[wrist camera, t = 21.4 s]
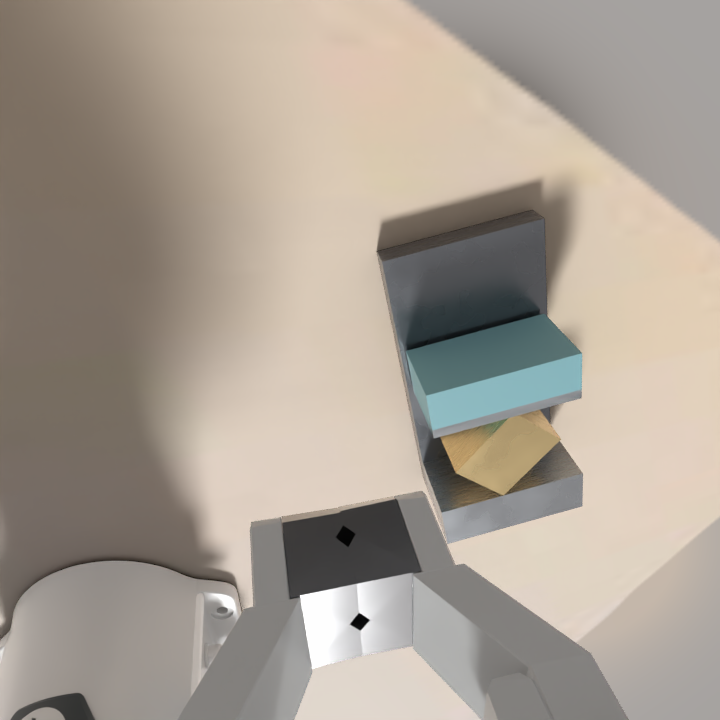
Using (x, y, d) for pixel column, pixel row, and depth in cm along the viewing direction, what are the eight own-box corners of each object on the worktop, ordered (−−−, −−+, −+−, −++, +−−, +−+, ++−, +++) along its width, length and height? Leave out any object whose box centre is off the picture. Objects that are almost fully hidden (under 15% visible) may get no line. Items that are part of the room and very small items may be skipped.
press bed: (542, 445, 41) (582, 506, 36) (423, 478, 41) (447, 543, 36) (532, 210, 32) (586, 249, 26) (376, 251, 31) (400, 298, 26)
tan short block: (478, 447, 38) (503, 495, 35) (434, 425, 37) (455, 473, 33) (532, 391, 37) (564, 435, 33) (488, 365, 35) (517, 408, 31)
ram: (545, 355, 35) (581, 397, 31) (413, 391, 35) (433, 438, 31) (544, 313, 33) (582, 353, 29) (405, 351, 33) (426, 395, 29)
